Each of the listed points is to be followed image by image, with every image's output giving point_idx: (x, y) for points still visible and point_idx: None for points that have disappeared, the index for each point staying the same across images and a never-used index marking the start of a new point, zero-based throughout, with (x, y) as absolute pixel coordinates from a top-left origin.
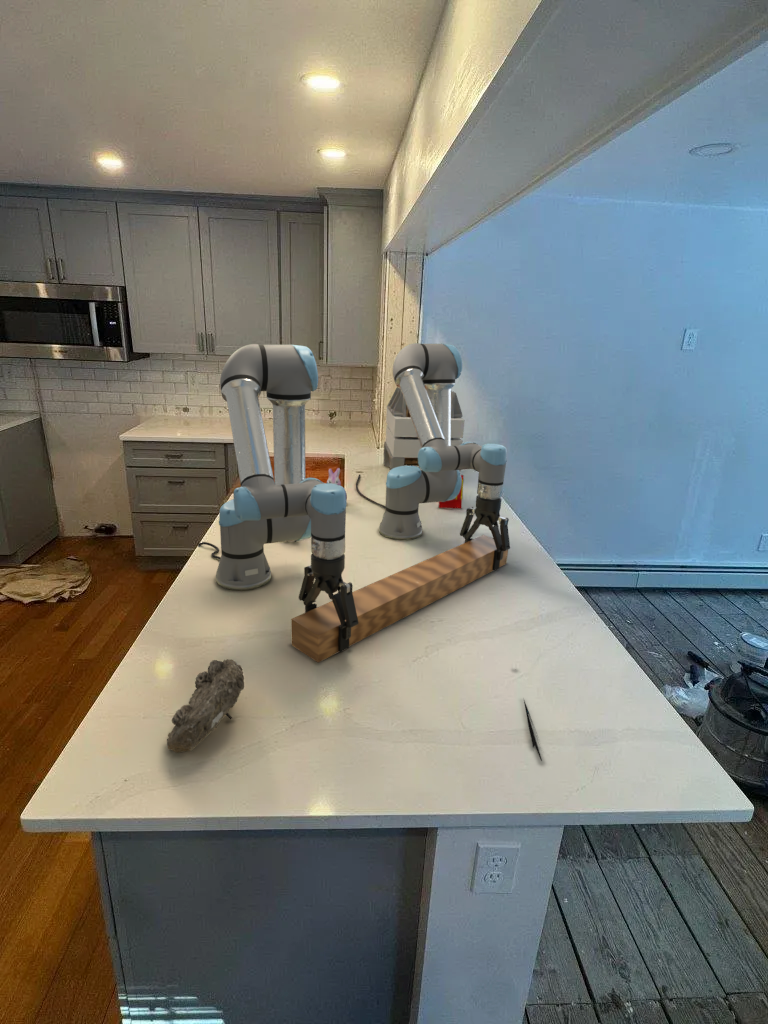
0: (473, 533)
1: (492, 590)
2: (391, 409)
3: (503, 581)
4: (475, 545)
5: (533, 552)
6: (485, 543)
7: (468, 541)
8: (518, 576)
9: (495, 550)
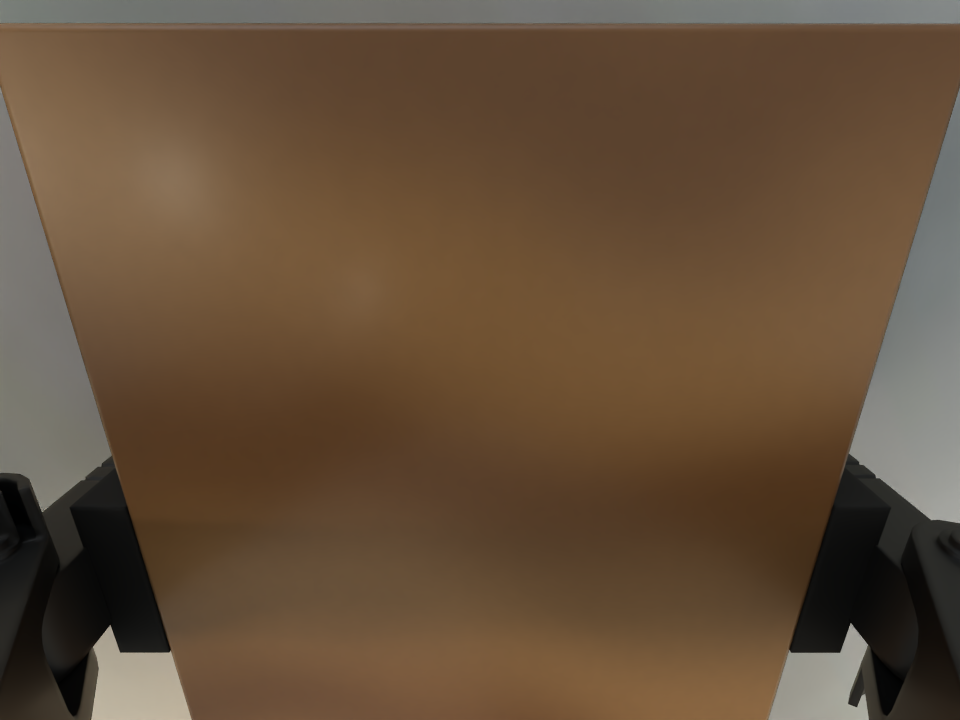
0: (23, 685)
1: (813, 689)
2: None
3: None
4: (401, 711)
5: None
6: (470, 521)
7: (183, 668)
8: (950, 317)
9: (809, 645)
